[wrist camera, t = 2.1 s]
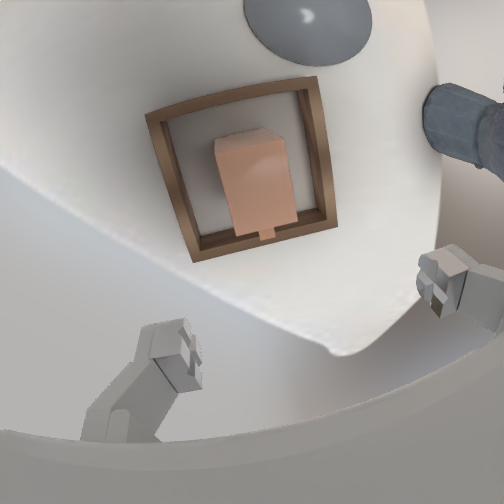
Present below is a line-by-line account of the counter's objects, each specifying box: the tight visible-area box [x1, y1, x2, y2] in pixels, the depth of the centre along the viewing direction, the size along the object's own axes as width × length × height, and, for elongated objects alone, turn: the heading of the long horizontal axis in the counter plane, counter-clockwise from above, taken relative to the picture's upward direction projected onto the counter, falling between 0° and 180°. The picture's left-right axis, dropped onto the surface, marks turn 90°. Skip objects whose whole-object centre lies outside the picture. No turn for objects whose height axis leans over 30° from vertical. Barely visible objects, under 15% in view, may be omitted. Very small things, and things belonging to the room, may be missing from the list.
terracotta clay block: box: [214, 128, 298, 240], centre depth 23 cm, size 8×4×8 cm, turn 12°
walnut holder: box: [145, 76, 338, 263], centre depth 25 cm, size 14×14×3 cm
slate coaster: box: [245, 0, 372, 66], centre depth 19 cm, size 12×12×1 cm
